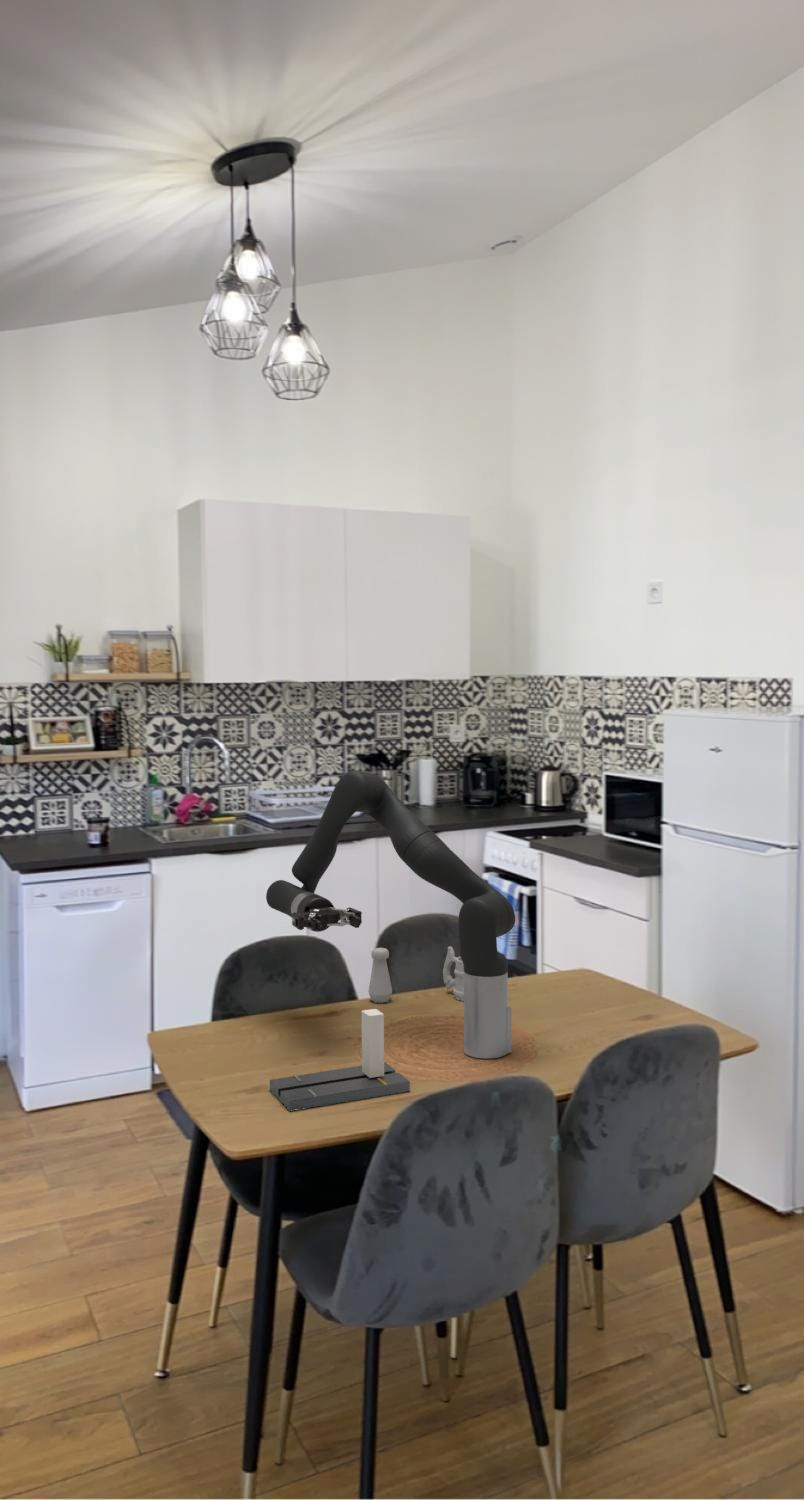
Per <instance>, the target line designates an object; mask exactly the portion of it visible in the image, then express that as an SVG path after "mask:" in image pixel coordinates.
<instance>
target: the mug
mask: <svg viewBox="0 0 804 1500" xmlns="http://www.w3.org/2000/svg"><path fill="white" fill-rule="evenodd" d="M453 963H455V969H454V971H453V972H454V975H455V978H453V976H452V975H451V967H452V965H453ZM442 976H443V979H442V980H443V983H444V984H445V987H446V989H447V990H450V989H453V992H452V994H453V995H454V999H455V1000H456V999H457V1000H456V1001H458V1000H460V1001H461V1002H464V965H463V962H462V959H461V956H460V955H459V956H458V957H456V955H455V950H454V948H453V946H448V947H447V954H446V957H445V961H444V964H443V969H442ZM453 986H454V988H453Z"/></svg>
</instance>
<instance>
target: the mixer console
mask: <svg viewBox="0 0 804 1500" xmlns="http://www.w3.org/2000/svg"><path fill="white" fill-rule="evenodd" d="M410 1084H411V1082H410V1080H409V1079H408V1078H407V1077H405V1076H404V1075H402V1074H401V1073H400V1072H396V1069H395V1068H393V1067H392V1066H391V1065H390V1064H388V1063H387V1062H385V1061H384V1076H379V1077H373V1078H369V1077H368V1076H367V1075H366V1074H364V1073H363V1072H362V1064H359V1065H358V1066H357V1065H356V1066H350V1067H345V1068H337V1069H331V1070H330V1069H329V1070H324V1071H323V1070H322V1071H318V1072H311V1073H304V1074H298V1075H297V1074H293V1075H292V1076H285V1077H280V1078H272V1079H269V1091H270V1093H272V1094H273V1095H274V1096H275V1098H276V1099H279V1100H280V1101H281V1102H282V1103H283V1104H284V1105H283V1104H282V1103H281V1102H280V1101H279V1100H278V1101H279V1102H280V1103H281V1104H282V1105H283V1106H284V1107H285V1108H286V1107H287V1108H288V1109H287V1108H286V1109H287V1111H288V1112H292V1111H291V1110H295V1109H302V1110H304V1109H303V1108H308V1109H311V1108H310V1107H314V1108H319V1107H318V1106H320V1107H324V1106H325V1105H326V1106H331V1105H330V1104H332V1105H336V1104H335V1103H338V1104H342V1103H341V1102H344V1103H347V1102H346V1101H350V1102H353V1101H352V1100H356V1101H360V1100H359V1099H362V1100H365V1099H364V1098H368V1099H371V1098H370V1097H374V1098H377V1097H378V1096H380V1097H384V1096H390V1095H389V1094H391V1095H395V1094H394V1093H397V1094H402V1093H401V1092H403V1093H407V1092H406V1091H409V1092H411V1085H410ZM378 1098H379V1097H378Z"/></svg>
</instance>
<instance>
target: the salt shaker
mask: <svg viewBox="0 0 804 1500" xmlns="http://www.w3.org/2000/svg"><path fill="white" fill-rule="evenodd" d="M370 955H371V958H372V959H373V962H372V969H371V975H370V981H369V986H368V995H369V998H370V999H371V1002H373V1001H374V1002H375V1004H384V1003H383V1002H386V1003H388V1002H389V1001H390V998H391V996H392V994H393V989H392V987H393V986H392V983H391V978H390V972H389V969H388V968H389V967H388V963H387V959H389V957H390V952H389V950H388V949H387V948H384V947H377V948H376V947H375V948H373V949H372V950H371V954H370ZM387 1001H388V1002H387ZM374 1002H373V1003H374ZM377 1002H378V1003H377ZM381 1002H382V1003H381Z"/></svg>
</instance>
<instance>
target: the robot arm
mask: <svg viewBox="0 0 804 1500" xmlns="http://www.w3.org/2000/svg"><path fill="white" fill-rule="evenodd" d="M356 812H357V813H358V812H359V813H364V814H366V815H368V816H369V817H371V818H372V819H373V820H374V821H376V822H377V823H378V824H379V825H380V826H381V827H382V828H383V829H384V830H385V832H386V834H387V835H388V836H389V838H390V842H391V844H392V847H393V848H394V851H395V852H396V854H397V856H398V857H399V858H400V860H401V861H402V862H403V863H404V864H405V865H406V866H407V867H408V868H409V869H410V870H411V871H412V872H413V873H414V874H415V875H416V876H418V877H419V878H420V879H422V880H423V881H426V882H427V883H429V884H430V885H433V886H435V887H437V888H438V889H441V890H442V891H445V892H447V893H449V894H451V895H452V896H453V897H455V898H456V899H457V900H459V901H460V902H461V903H462V905H461V907H460V909H459V913H458V921H457V922H458V944H459V945H458V946H459V947H458V948H459V957H460V956H461V959H462V962H463V965H464V1001H463V1053H464V1054H466V1055H467V1056H469V1057H472V1058H476V1059H498V1058H502V1057H504V1056H506V1055H508V1054H511V1053H512V1051H513V1050H512V1049H513V1048H512V1045H513V1043H512V1042H513V1041H512V1039H513V1038H512V1037H513V1035H512V1033H513V1032H512V1031H513V1030H512V1027H513V1026H512V1024H513V1023H512V1022H513V1020H512V1017H513V1015H512V1008H511V1006H509V1002H508V1001H509V1000H508V999H509V998H508V996H509V995H508V992H509V990H508V988H509V987H508V985H509V984H508V981H509V980H508V979H509V977H508V975H509V973H508V971H509V969H508V968H509V967H508V966H509V965H508V964H509V963H508V959H507V957H506V956H504V955H502V954H499V952H498V943H497V941H498V940H497V938H498V937H502V936H504V935H506V934H508V933H509V932H511V931H512V930H513V928H514V927H515V924H516V913H515V912H516V911H515V909H514V907H513V906H512V905H513V904H511V902H510V901H509V900H508V898H507V897H505V895H503V894H502V893H501V892H499V890H497V889H496V888H495V887H493V886H492V885H490V883H488V882H487V881H486V880H484V879H483V878H482V877H481V876H480V875H478V874H477V873H476V872H474V871H473V870H472V869H471V868H470V867H469V866H468V865H467V863H465V862H464V861H463V860H462V859H461V858H460V857H459V856H458V855H457V854H456V853H455V852H453V850H451V848H450V847H449V846H448V845H447V844H446V843H445V841H443V839H441V838H440V837H439V835H437V834H436V833H435V832H434V831H433V830H431V828H429V827H428V826H427V825H426V824H425V823H424V822H423V821H422V820H421V819H420V818H419V817H418V816H417V815H416V814H414V812H412V811H411V810H409V808H407V807H406V806H405V804H404V803H403V802H402V801H401V800H400V798H399V797H398V796H397V795H396V793H394V791H393V789H391V788H390V786H389V785H388V783H386V782H385V780H384V779H383V778H382V777H380V776H379V775H378V774H375V773H373V772H368V771H362V770H350V771H347V772H345V773H344V774H343V775H342V776H341V777H340V778H339V779H338V781H337V782H336V785H335V786H334V789H333V790H332V792H331V795H330V798H329V800H328V803H327V805H326V807H325V808H324V811H323V813H322V815H321V817H320V820H319V822H318V824H317V826H316V828H315V830H314V832H313V834H312V835H311V837H310V839H309V841H308V842H307V844H306V845H305V847H304V848H303V850H302V851H301V853H300V854H299V856H298V857H297V859H296V860H295V862H294V864H293V865H292V867H291V873H292V875H293V877H294V878H295V879H296V880H297V881H299V882H300V883H302V886H301V887H300V886H297V885H295V884H293V883H291V882H289V881H287V880H284V879H279V880H278V879H277V880H275V881H273V882H272V883H271V884H270V885H269V887H268V888H267V890H266V892H265V893H266V894H265V899H266V903H267V905H268V907H270V908H271V909H273V910H275V911H277V912H280V913H282V914H285V915H286V916H289V917H290V918H291V925H292V926H293V927H294V928H295V929H297V930H300V931H303V930H304V929H305V928H307V930H309V931H312V932H314V933H315V932H317V933H320V932H323V931H326V930H328V929H329V928H330V927H334V926H336V927H345V926H348V925H349V926H351V927H353V928H355V929H357V928H358V929H359V928H360V926H361V924H362V923H363V920H362V918H363V917H362V911H361V910H358V909H355V908H353V907H351V906H350V907H346V909H341V908H336V907H335V906H334V905H333V903H332V902H331V901H330V900H329V899H328V898H326V897H324V896H321V895H320V894H317V893H315V892H316V890H317V888H318V887H317V886H318V884H319V882H320V880H321V879H322V878H323V876H324V874H325V873H326V871H327V869H328V868H329V867H330V865H331V863H332V862H333V859H334V858H335V855H336V853H337V848H338V844H339V840H340V836H341V833H342V831H343V828H344V826H345V825H346V824H347V822H348V821H349V820H350V818H351V817H352V816H353V815H355V813H356Z"/></svg>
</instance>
